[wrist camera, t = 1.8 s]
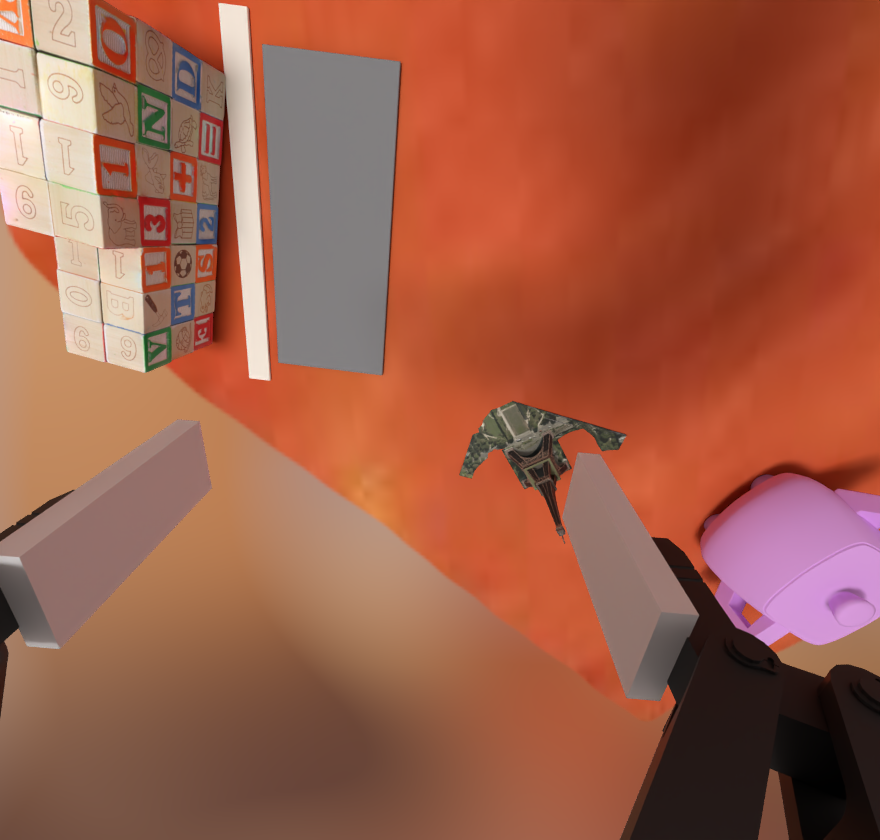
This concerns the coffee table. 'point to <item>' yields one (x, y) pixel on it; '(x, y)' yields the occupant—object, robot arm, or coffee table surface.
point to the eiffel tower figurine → (532, 447)
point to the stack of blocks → (114, 174)
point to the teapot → (797, 558)
